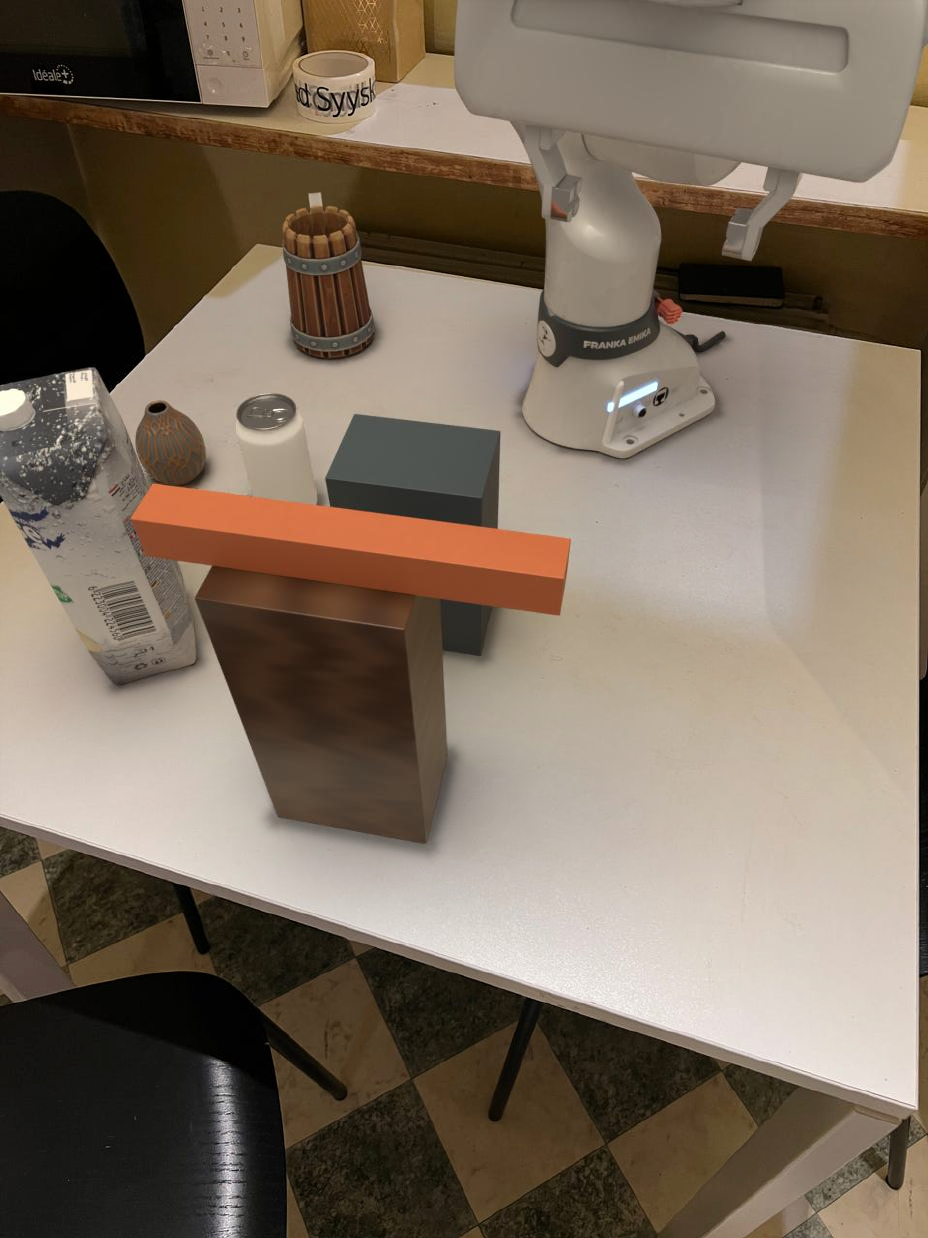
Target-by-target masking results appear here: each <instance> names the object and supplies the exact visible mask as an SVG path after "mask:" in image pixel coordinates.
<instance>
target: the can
mask: <svg viewBox="0 0 928 1238" xmlns="http://www.w3.org/2000/svg"><path fill="white" fill-rule="evenodd" d="M236 419H237V420H236V422H235V433H236V437H237V441H238V445H239V449H240V453H241V457H242V460H243V461H242V462H243V465H244V468H245V472H246V475H247V480H248V484H249V487H250V491H251V494H252V495H251V496H252V497H260V498H267V499H275V500H282V501H290V502H297V503H305V504H313V505H318V491H317V486H316V482H315V476H314V470H313V464H312V459H311V453H310V448H309V443H308V438H307V437H308V436H307V432H306V427H305V422H304V419H303V416H302V414H301V412H300V411H299V409H297V404H296V402H295V401H294V400H293V399H292V398H291V397H289V396H287V395H285V394H282V393H276V392H266V393H260V394H256V395H253V396H251V397H248V398H247V399H245V400H244V401H243V402H241V403H240V404H239V406H238V408H237V410H236Z"/></svg>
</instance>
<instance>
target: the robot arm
mask: <svg viewBox="0 0 928 1238" xmlns="http://www.w3.org/2000/svg"><path fill="white" fill-rule="evenodd" d="M926 47H928V0H457V5H456V16H455V31H454V53H453V54H454V55H453V78H454V79H453V80H454V87H455V90H456V92H457V94H458V96H459V98H460V100H461V101H462V103H463V105H464V107H465V108H466V110H467V112H468V113H470V114H471V115H473V116H478V117H484V118H490V119H495V120H501V121H507V122H509V123H510V125H511V126H512V127H513V129H514V130H515V132H516V134H517V136H518V137H519V139H520V141H521V143H522V145H523V148H524V150H525V153H526V155H527V156H528V160H529V162H530V165H531V168H532V171H533V173H534V177H535V180H536V184H537V187H538V191H539V195H540V199H541V213H540V214H541V217H542V219H544V222H545V223H544V224H545V266H544V267H545V268H544V286H543V287H544V288H542V290H541V292H540V295H539V302H538V311H537V325H536V326H537V327H536V342H537V353H536V359H535V363H534V369H533V372H532V376H531V379H530V383H529V385H528V389H527V391H526V394H525V395H524V397H523V401H522V406H521V412H522V416H523V419H524V421H525V422H526V424H527V426H528V427H529V428H530V429H531V430H532V431H533V432H534V433H536V434H537V435H538V436H540V437H542V439H545V440H547V441H548V442H551V443H553V444H556V445H559V446H562V447H564V448H565V447H566V448H569V449H575V450H584V451H594V452H595V451H596V452H599V453H601V454H605V455H607V456H610V457H614V458H618V459H628V458H630V457H633V456H634V455H636V454H638V453H640V452H642V451H643V450H645V449H647V448H650V447H651V446H653V445H654V444H656V443H659V442H660V441H662V440H664V439H666V438H667V437H669V436H671V435H673V434H675V433H677V432H679V431H680V430H682V429H684V428H687V427H688V426H690V425H692V424H693V423H695V422H697V421H699V420H702V419H703V418H705V417H707V416H708V415H711V414H712V413H713V412H714V411H715V408H716V399H715V395H714V392H713V389H712V388H711V386H710V385H709V384H708V382H707V381H706V380H705V379H704V377H703V376H702V375H700V362H699V359H698V356H697V354H696V353H703V352H706V351H707V350H709V349H711V348H712V347H714V346H715V345H716V344H717V343H719V342H721V341H722V340H723V339H725V338H726V337H727V333H726V332H725V331H724V330H721V331H720V332H718V333H716V334H715V335H714V336H711V338H709V339H708V340H706V341H705V342H703V343H701V344H699V343H700V341H699V337H698V336H697V335H695V334H692V333H689V334H684V333H682V332H680V331H679V330H676V329H675V328H673V327H671V326H669V325H674V324H677V323H678V322H679V320H680V319H681V318H682V315H683V308H682V307H681V306H680V305H679V304H676V303H674V301H673V300H672V299H671V298H666V299H664V300H663V299H662V298H660V297H661V294H660V293H659V292H658V291H657V290H655V289H654V286H655V285H654V284H655V279H656V272H657V267H658V262H659V261H658V260H659V255H660V250H661V244H662V229H661V223H660V219H659V217H658V215H657V212H656V210H655V209H654V207H653V206H652V204H651V203H650V202H649V200H648V199H647V198H646V196H645V195H644V193H643V192H642V191H641V189H640V187H639V186H638V184H637V182H636V179H635V177H634V175H633V173H634V174H636V175H640V176H643V177H644V178H648V179H651V180H653V181H656V182H658V183H659V182H660V183H668V184H676V185H684V186H685V185H687V186H701V187H710V186H713V185H716V184H718V183H719V182H721V181H722V180H724V179H725V178H726V177H728V176H729V175H730V174H732V173H733V172H734V171H735V170H736V169H737V168H738V167H739V166H740V165H741V164H748V165H755V166H760V167H765V168H767V170H766V174H765V178H764V182H763V186H762V189H763V190H764V191H765V192H768V193H767V194H766V195H765V196H764V198H762V200H761V201H760V202H759V203H758V204H757V205H756V207H754V209H750V208H745V207H737V206H736V209H735V211H734V212H733V215H732V216H731V217H730V219H729V221H728V225H727V228H726V232H725V238H726V239H725V241H724V243H723V245H722V248H721V249H722V250H721V256H725V257H730V258H734V259H739V260H744V261H749V262H752V260H753V259H754V256H755V255H756V252H757V250H758V247H759V244H760V241H761V238H762V233H763V230H764V227H765V226H766V225H767V224H768V222H770V221H771V220H772V219H773V218H774V216H776V214H778V212H779V211H781V209H782V208H783V207H785V205H786V204H787V203H788V202H789V201H790V200H791V199H792V198H793V197H794V195H795V192H796V190H797V188H798V186H799V185H800V183H801V180H802V178H803V175H804V174H805V175H811V176H816V177H822V178H827V179H833V180H839V181H845V182H850V183H855V184H856V183H857V184H864V183H867V182H868V181H870V180H871V179H872V178H874V177H875V176H877V175H878V174H879V173H881V172H882V171H883V170H884V169H886V168H887V167H888V166H889V165H891V163H892V162H893V159H894V157H895V154H896V152H897V148H898V145H899V143H900V139H901V136H902V133H903V129H904V127H905V124H906V120H907V117H908V113H909V110H910V106H911V103H912V98H913V95H914V92H915V89H916V84H917V80H918V76H919V73H920V68H921V63H922V58H923V53H924V49H925V48H926ZM660 318H662V319H663V320H664V321H665V322H663V321H661V320H660Z"/></svg>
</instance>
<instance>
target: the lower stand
mask: <svg viewBox="0 0 928 1238" xmlns="http://www.w3.org/2000/svg"><path fill="white" fill-rule="evenodd" d="M500 462H501V430H496V429H488V428H479V427H471V426H463V425H453V424H445V423H435V422H429V421H428V422H427V421H421V420H419V421H418V420H410V419H402V418H393V417H386V416H385V417H384V416H376V415H369V414H368V415H367V414H361V413H354V414H353V415H352V418H351V420H350V422H349V425H348V426H347V429H346V431H345V433H344V436H343V437H342V439H341V442H340V444H339V446H338V448H337V452H335V455H334V457H333V460H332V462H331V464H330V467H329V468H328V471H327V473H326V475H325V477H324V481H325V486H326V493H327V497H328V504H329V507H335V508H343V509H350V510H358V511H366V512H373V513H381V514H388V515H396V516H403V517H411V518H419V519H426V520H434V521H441V522H449V523H456V524H464V525H472V526H479V527H487V528H494V529H499V503H500V501H499V500H500V495H499V494H500V467H501V466H500V465H501V463H500ZM440 607H441V628H442V649H443V651H446V652H453V653H454V652H455V653H460V654H467V655H473V656H479V657H480V656H482V653H483V649H484V645H485V640H486V636H487V631H488V626H489V622H490V620H491V619H490V618H491V614H492V611H493V606H488V605H481V604H474V603H467V602H460V601H453V600H446V599H440Z"/></svg>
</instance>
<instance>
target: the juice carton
mask: <svg viewBox="0 0 928 1238" xmlns="http://www.w3.org/2000/svg"><path fill="white" fill-rule="evenodd" d="M149 489H150V486H149V484H148V480H147V479H146V476H145V473H144V471H143V467H142V464H141V462H140V460H139V458H138V455H137V452H136V449H135V447H134V444H133V442H132V440H131V437H130V434H129V432H128V430H127V427H126V425H125V422H124V419H123V418H122V416H121V414H120V412H119V409H118V408H117V406H116V404H115V402H114V400H113V398H112V397H111V394H110V392H109V390H108V388H107V387H106V385H105V382H104V381H103V379H102V377H101V375H100V373H99V371H98V370H97V369H96V367H92V366H91V367H84V368H79V369H74V370H68V371H65V372H60V373H59V372H58V373H53V374H49V375H45V376H40V377H35V378H29V379H25V380H21V381H14V382H10V383H6V384H1V385H0V497H1V499H2V501H3V503H4V504H5V506H6V509H7V510H8V512H9V514H10V516H11V518H12V519H13V521H14V523H15V525H16V526H17V528H18V530H19V532H20V534H21V535H22V537H23V539H24V541H25V542H26V544H27V546H28V548H29V549H30V551H31V553H32V555H33V557H34V558H35V560H36V562H37V564H38V565H39V567H40V569H41V570H42V573H43V574H44V576H45V578H46V580H47V581H48V583H49V585H50V586H51V588H52V591H53V592H54V594H55V596H56V597H57V599H58V601H59V602H60V604H61V606H62V609H64V612H65V613H66V615H67V617H68V619H69V620H70V622H71V624H72V625H73V627H74V629H75V631H76V633H77V634H78V636H79V639H80V640H81V641H82V643H83V644H84V646H85V648H86V650H87V651H88V653H89V654H90V656H91V657H92V659H93V660H94V661H95V663H96V664H97V665H98V666H99V668H100V669H101V670H102V672H103V673H104V674H105V675H106V676H107V677H108V679H109V680H110V681H111V682H112V683H113V684H115V685H124V684H128V683H132V682H135V681H138V680H141V679H144V678H148V677H151V676H154V675H158V674H161V673H165V672H169V671H173V670H177V669H181V668H184V667H188V666H191V665H193V664H195V663H196V661H197V645H196V633H195V625H194V620H193V617H192V613H191V609H190V606H189V603H188V599H187V590H186V583H185V579H184V576H183V573H182V570H181V568H180V567H181V566H180V564H179V561H176V560H169V559H162V558H155V557H148V556H146V555H145V553H144V550H143V548H142V545H141V543H140V541H139V538H138V536H137V534H136V531H135V529H134V526H133V524H132V522H131V517H132V515H133V514H134V512H135V511H136V509H137V507H138V506H139V504H140V503H141V501H142V500H143V498H144V497H145V495H146V493H147V492H148V490H149Z"/></svg>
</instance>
